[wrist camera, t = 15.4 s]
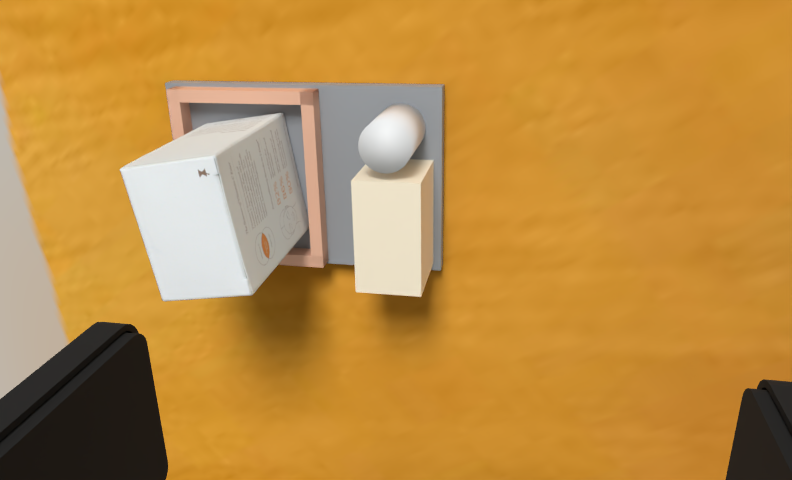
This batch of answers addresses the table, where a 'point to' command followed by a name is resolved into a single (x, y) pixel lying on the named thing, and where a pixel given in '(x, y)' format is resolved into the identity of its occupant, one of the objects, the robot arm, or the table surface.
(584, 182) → the table surface
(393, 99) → the assembly board
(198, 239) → the small box
